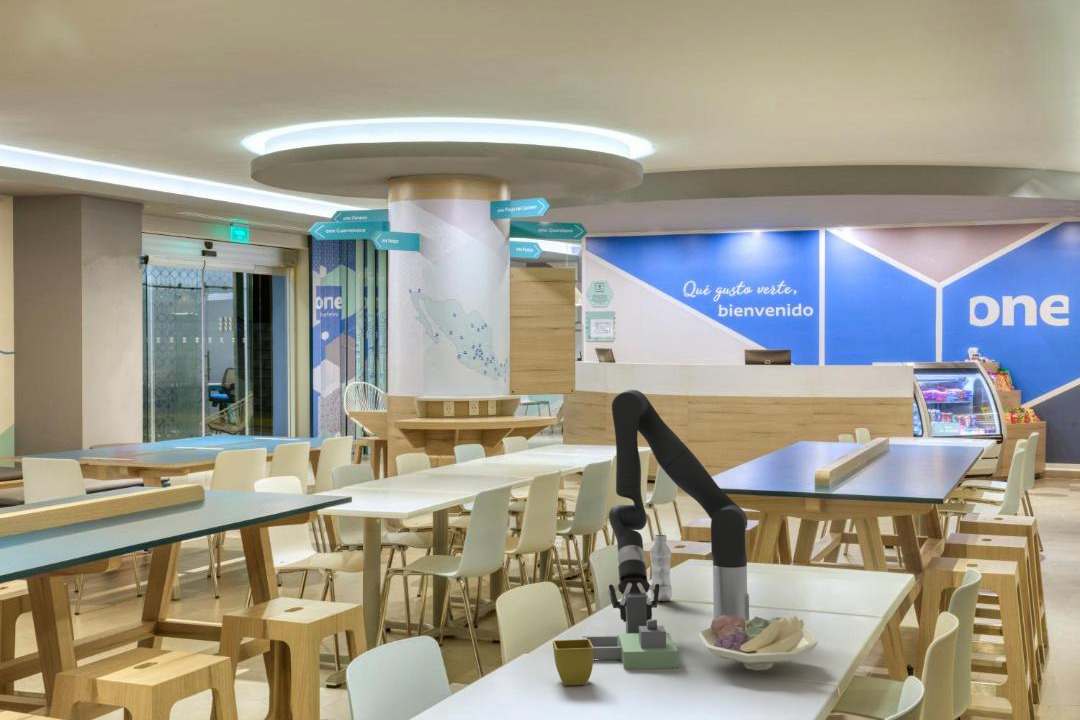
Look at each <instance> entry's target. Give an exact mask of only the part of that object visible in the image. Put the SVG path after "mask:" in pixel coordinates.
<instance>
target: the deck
mask: <svg viewBox="0 0 1080 720" xmlns="http://www.w3.org/2000/svg"><path fill="white" fill-rule="evenodd" d="M582 639H589V640H590V641H591V644H592V645H593V647H594V655H593V659H594V660H593V661H596V660H595V659H621V660H620V661H621V663H622V666H624V667H623V669H624V668H634V669H677V667H678V668H679V649H678V648H677V646H676V645H675V642H674V640H673V638H672V636H671V634H670V632H667V631H666V628H665V627H664V625H658V620H657V619H653V618H652V619H650V620H647V626H639V633H627V634H626V633H617V635H591V636H590V635H584V636H583V635H582ZM672 667H673V668H672Z"/></svg>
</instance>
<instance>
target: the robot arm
mask: <svg viewBox="0 0 1080 720" xmlns="http://www.w3.org/2000/svg"><path fill="white" fill-rule="evenodd" d="M611 413H612V421H613V427H614V435H615V436H614V437H615V446H616V447H615V449H616V450H615V451H616V455H615V456H616V467H615V468H616V469H615V493H616V495H617V496H619V497H621V498H626V499H630V500H631V501H632V502H633V504H616V505H613V506H612V507H611V508H610V510H609V513H608V521H609V524H610V527H611V529H612V531H613V533H614V535H615V538H616V545H617V568H618V579H619V580H618V581H619V583H618V584H617V585H613V584H609V585H608V595H609V598H610V602H611V605H612V608H613V609H619V613H620V616H619V617H620V620H621V621H623V623H626V593H634V592H640V593H645V595H646V597H647V620H650V619H653V610H652V609H653V608H657V607H658V604H659V601H658V596H659V587H660V585H659V584H656V585H652V584H650V582H648V574H647V573H648V572H647V564H646V563H647V562H646V555H645V552H644V542H643V536H642V534H641V532H639V531H641V530H643V529H644V528H645V527H646V525H647V521H648V518H647V513H646V508H645V506H644V502H643V497H642V466H641V458H640V453H639V447H638V446H639V445H638V432H639V433H640V434H641V436H642V437H643V438H644V440H645V441H646V443H647V444H648V447H650V450H651V453H652V454H653V456H654V459H656V462H657V463H658V465H659V466H660V467H661V468H662V470H663V471H664V473H665V474H666V475H667V476H668V477H669V478H670V479H671V481H672V482H673V483H674V484H675V485H676V486H677V487H679V488H680V489H681V490H682V491H683V492H684V493H686V494H687V495H689V496H690V497H692V499H694V500H695V501H696V502H697V503H698V504H699V505H700V506H701V507H702V509H703V510H704V511H705V513H706V514H707V515H708V517H709V518H710V519H711V520H710V521H711V522H710V543H711V545H710V548H711V556H712V591H713V592H712V593H713V594H712V596H713V599H712V600H713V602H712V603H713V620H714V619H715V618H717V617H718V616H723V615H726V616H728V617H731V616H732V615H734V616H737V617H740V618H743V619H745V621H747V620H750V594H749V593H748V556H747V550H746V530H747V528H748V517H747V515H746V513H745V511H744V510H743V509H742V508H741V507H740V506H739V505H738V504H737V503H736V502H734V500H732V499H731V497H730V496H728V495H727V494H726V493H725V492H724V491H723V489H721V487H720V486H719V485H718V484H717V483H716V482H715V480H714V478H713V477H712V476H711V475H710V473H709V472H708V471H707V469H706V468H705V467H704V465H703V464H702V463H701V462H700V460H699V458H697V457H696V455H695V454H694V453H693V451H691V450H690V449H689V448H688V446H687V445H686V444H685V443H684V442H683V441H682V440H681V439H680V437H679V436H677V434H676V433H675V432H674V431H673V429H671V428H670V426H668V425H667V424H666V422H664V420H663V419H662V417H660V415H659V414H658V412H657V410H656V409H655V408H654V406H653V405H652V404H651V402H650V401H649V399H648V397H647V396H646V395H645V393H643V392H642V391H640V390H638V389H628V390H624V391H621V392H619V393H617V394H616V395H615V396H614V398H613V399H612V402H611ZM618 591H619V593H621V594H622V596H621V600H620V601H619V600H618V597H617V594H618ZM649 591H651V592H652V593H653V594H654V600H653V599H652V600H651V599H650V598H649V594H648V592H649Z"/></svg>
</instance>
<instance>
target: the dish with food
mask: <svg viewBox="0 0 1080 720" xmlns="http://www.w3.org/2000/svg"><path fill="white" fill-rule="evenodd" d="M698 635H699V637H700V639H701V640H702V642H703V643H704V646H705V647H706V648H707V650H708V651H709V653H710V654H711V655H713V656H716V657H719V658H721V659H725V660H729V661H733V662H736V663H737V662H739V663H743V666H744V668H746V669H749V670H753V671H766V670H769V669H771V668H773V667H774V666H773V664H786V663H787V662H791V661H793V660H796V659H797V658H799V657H802V656H803V655H805V654H807V653H808V652H810V651H812V650H815V648H816V647H817V645H818V644H819V640H818V639H817V638H816V637H815V636H814V635H813V634H812V633H811V632H810V631H809V630H808V628H807V627H805V623H804V620H803V618H798V617H797V616H796V615H792V616H791V617H790V618H789V619H788V620H787V619H786V618H785V617H777V616H776V617H771V618H770V620H769V619H765V618H762V617H759V616H754V617H753V618H752V619H751V620H750V619H749V620H747V621H745V619H743V618H740V617H737V616H734V615H732V616H731V617H728V616H726V615H723V616H718V617H717V618H715V619H714V618H713V619H712V621H711V624H710V627H709V628H707V629H704V630H702V631H700V632H698Z"/></svg>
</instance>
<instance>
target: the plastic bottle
mask: <svg viewBox="0 0 1080 720" xmlns="http://www.w3.org/2000/svg"><path fill="white" fill-rule="evenodd" d="M653 542H654V544H653V545H652V546H651V548H650V549H649V557H650V565H651V585H656V584H659V585H660V587H659V596H658V602H660V601H663V602H667V601H670V600H672V598H673V589H672V583H671V575H670V574H671V571H670V570H671V559H672V551H671V549H670V547H669V545H668V544H667V542H668V540H667V535H666V534H655V535H653ZM649 591H650V592H649V593H650V598H651V599H652V601H653V600H654V594H653V593H652V592H651V590H649Z"/></svg>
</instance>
